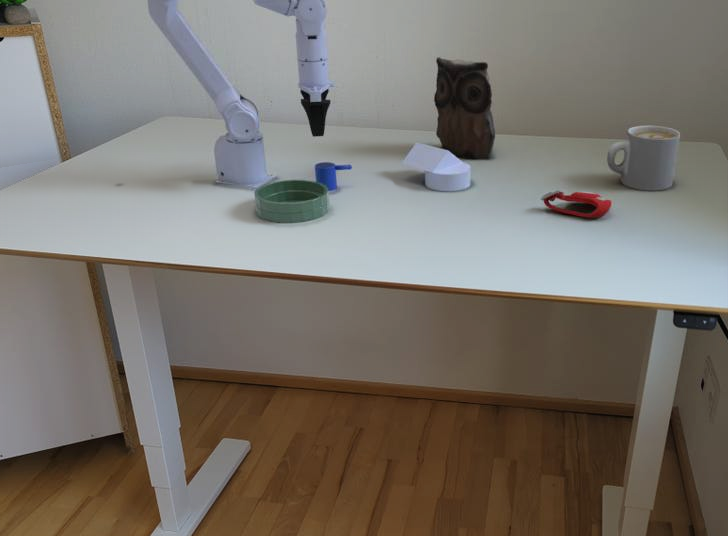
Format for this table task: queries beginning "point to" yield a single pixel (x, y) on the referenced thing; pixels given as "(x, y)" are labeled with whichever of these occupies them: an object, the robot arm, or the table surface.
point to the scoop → (328, 174)
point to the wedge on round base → (439, 168)
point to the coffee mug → (647, 157)
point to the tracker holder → (581, 198)
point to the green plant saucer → (291, 201)
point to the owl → (464, 108)
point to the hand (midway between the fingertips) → (317, 130)
